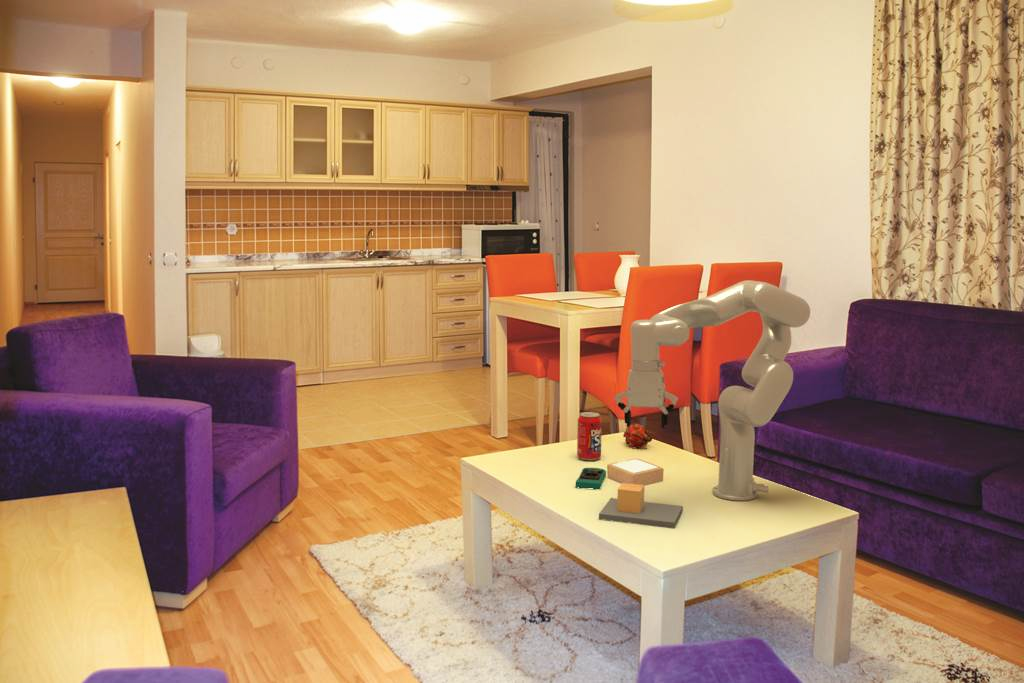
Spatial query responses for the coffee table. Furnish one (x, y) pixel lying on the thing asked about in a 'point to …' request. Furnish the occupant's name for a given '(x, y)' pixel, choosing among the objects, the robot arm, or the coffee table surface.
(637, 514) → the grey oblong slab
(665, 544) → the coffee table surface
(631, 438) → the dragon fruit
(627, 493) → the orange cube
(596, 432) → the soda can
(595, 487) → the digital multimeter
